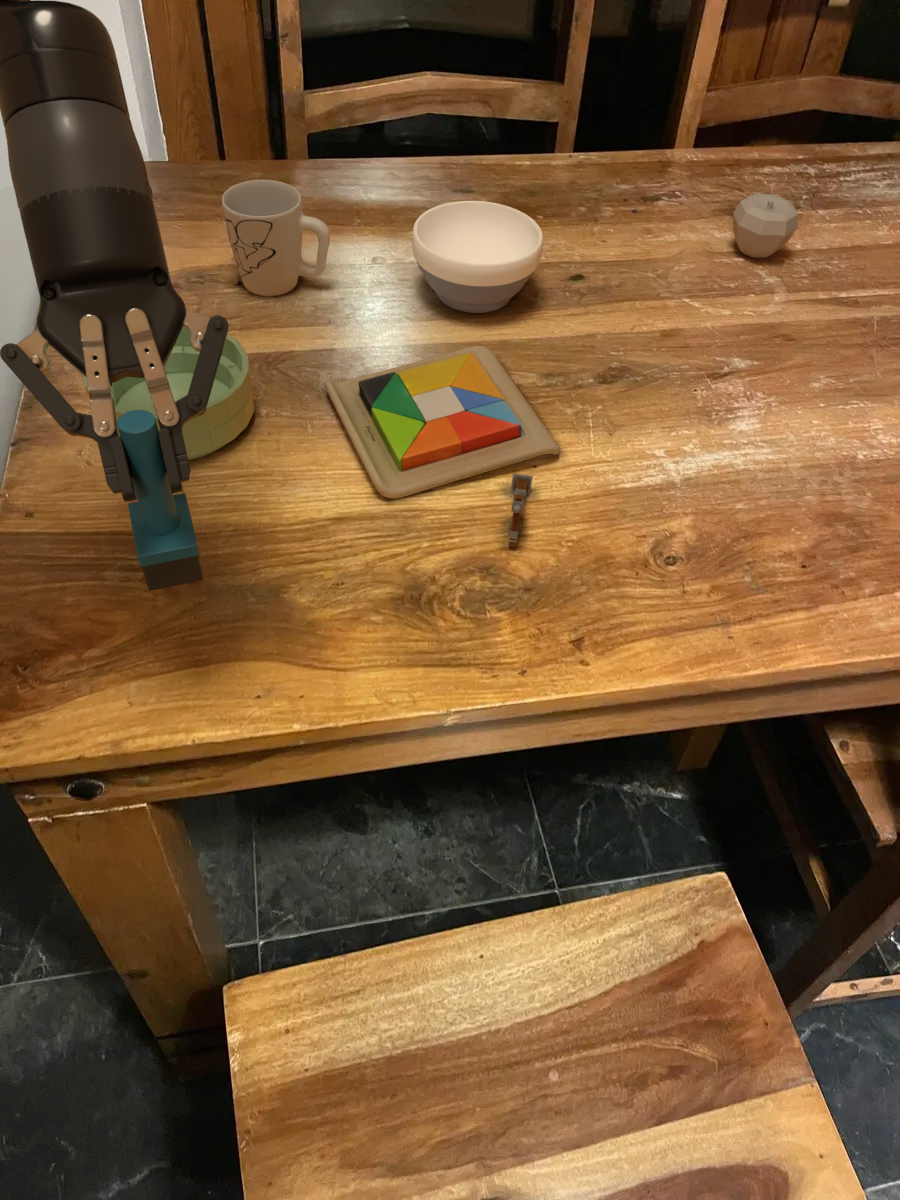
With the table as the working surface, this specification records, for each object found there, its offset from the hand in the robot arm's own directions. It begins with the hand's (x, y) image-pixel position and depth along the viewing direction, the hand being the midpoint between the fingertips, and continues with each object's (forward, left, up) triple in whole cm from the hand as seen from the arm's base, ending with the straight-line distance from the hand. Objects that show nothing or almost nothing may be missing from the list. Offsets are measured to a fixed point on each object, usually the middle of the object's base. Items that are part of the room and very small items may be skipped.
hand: (154, 494), depth 57 cm
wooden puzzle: (+35, +9, -19) cm, 41 cm away
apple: (+89, +6, -19) cm, 91 cm away
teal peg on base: (+1, +2, -8) cm, 8 cm away
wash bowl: (+17, +27, -19) cm, 37 cm away
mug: (+40, +39, -19) cm, 59 cm away
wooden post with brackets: (+31, -5, -19) cm, 37 cm away
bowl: (+55, +23, -19) cm, 62 cm away
